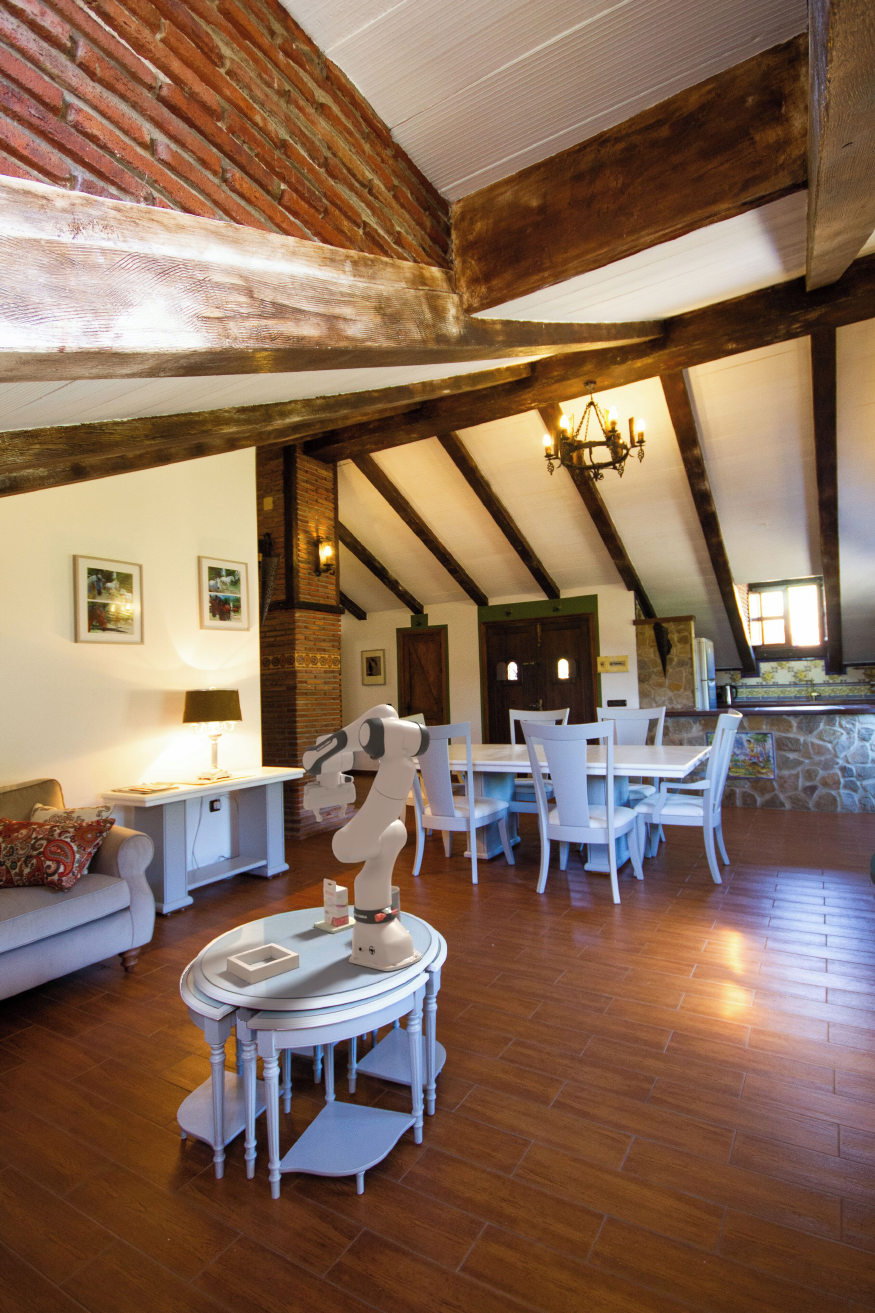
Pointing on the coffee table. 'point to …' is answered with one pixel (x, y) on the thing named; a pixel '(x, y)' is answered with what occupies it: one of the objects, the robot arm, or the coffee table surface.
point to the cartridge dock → (252, 975)
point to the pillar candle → (396, 901)
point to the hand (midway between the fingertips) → (330, 819)
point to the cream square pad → (335, 929)
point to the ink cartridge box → (335, 904)
